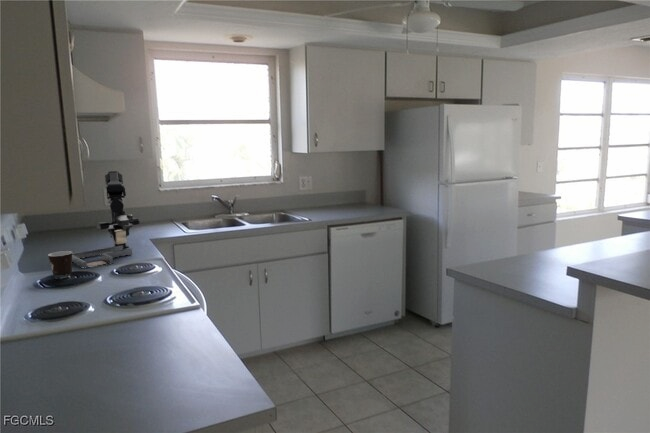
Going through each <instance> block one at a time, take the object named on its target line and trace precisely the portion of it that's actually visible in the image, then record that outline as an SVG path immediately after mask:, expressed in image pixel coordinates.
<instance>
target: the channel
mask: <svg viewBox="0 0 650 433" xmlns="http://www.w3.org/2000/svg"><path fill="white" fill-rule="evenodd" d="M100 254H101V255H100ZM131 254H132V255H133V249H132V248H123V245H118V246H114V245H113V246H108V247H103V248H96V249H90V250H85V251H78V252H74V253H73V252H72V262H74V263H76V264H77V266H78V265H79V266H81V267H84V268H85V267H87V261H85V260H83V259H84V258H83V257H87V258H90V257H89V256H93V257H95V256H94V255H99V256H101V261H103V260H104V262H105V261H106V263H107V262H109V263H112V262H113V263H114V259H116V258H115V257H117V258H120V257H119V256H123V257H126V256H125V255H128V256H132V255H131ZM80 258H82V259H80ZM74 263H73V264H74ZM109 263H108V264H109ZM76 264H75V265H76ZM79 266H78V267H79ZM81 267H80V268H81ZM87 268H88V267H87Z"/></svg>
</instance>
